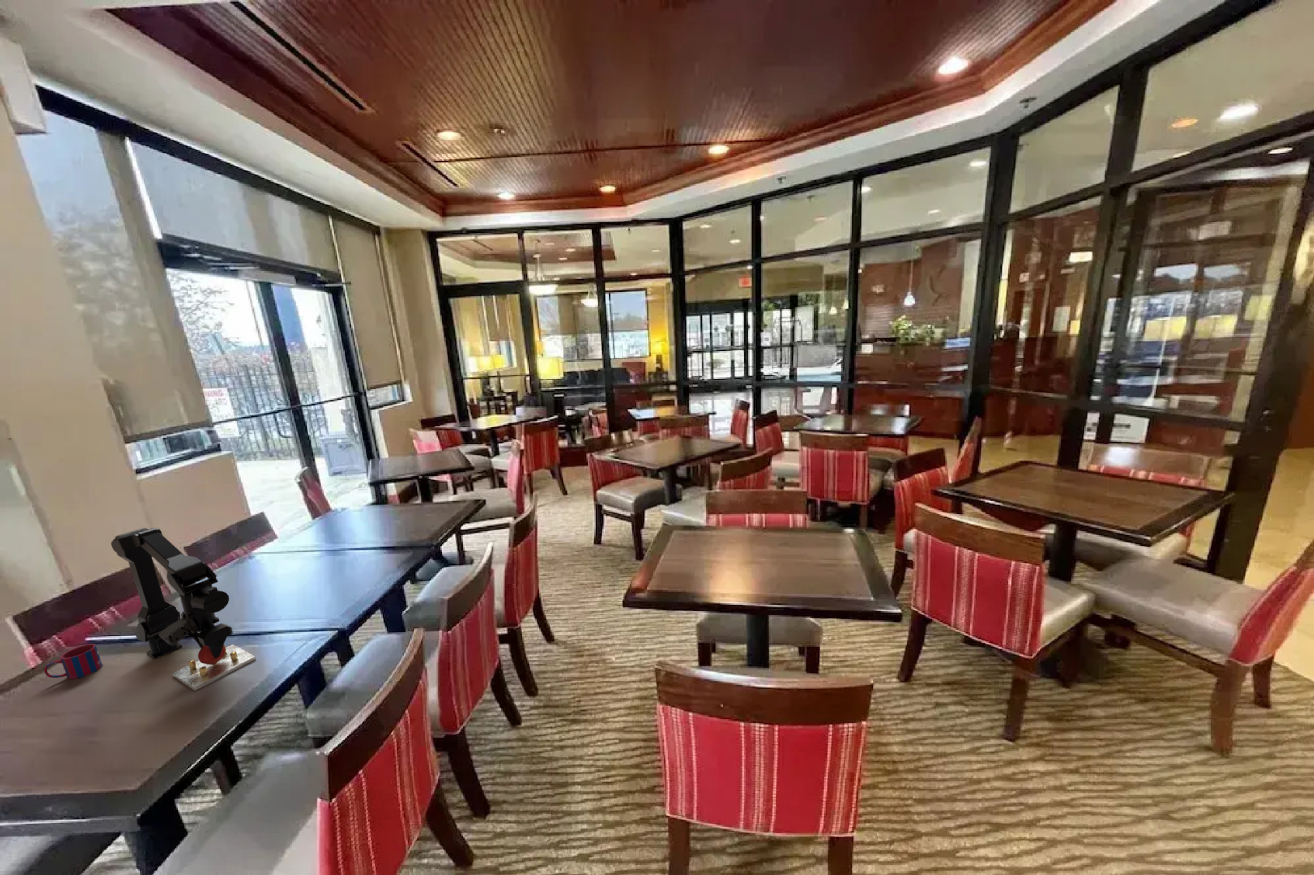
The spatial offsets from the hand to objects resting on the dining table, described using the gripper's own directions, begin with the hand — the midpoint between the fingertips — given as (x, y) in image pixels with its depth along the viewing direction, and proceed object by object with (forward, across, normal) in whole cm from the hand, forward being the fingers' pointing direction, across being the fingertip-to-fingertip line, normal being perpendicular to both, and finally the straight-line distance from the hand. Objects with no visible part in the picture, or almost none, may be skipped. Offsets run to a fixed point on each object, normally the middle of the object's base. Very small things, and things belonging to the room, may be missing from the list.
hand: (211, 654), depth 138 cm
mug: (+5, -36, -19) cm, 41 cm away
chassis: (+4, 0, 0) cm, 5 cm away
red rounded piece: (+4, 0, 0) cm, 4 cm away
